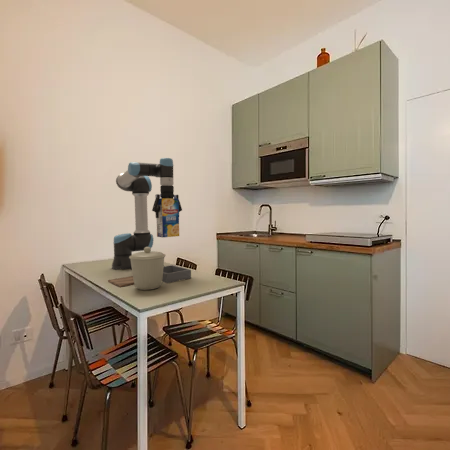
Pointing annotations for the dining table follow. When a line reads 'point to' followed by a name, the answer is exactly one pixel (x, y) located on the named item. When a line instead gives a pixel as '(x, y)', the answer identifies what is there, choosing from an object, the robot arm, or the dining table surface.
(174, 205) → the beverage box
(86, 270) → the dining table surface
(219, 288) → the dining table surface
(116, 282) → the walnut board
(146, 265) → the canister
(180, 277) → the grey bin
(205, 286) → the dining table surface
